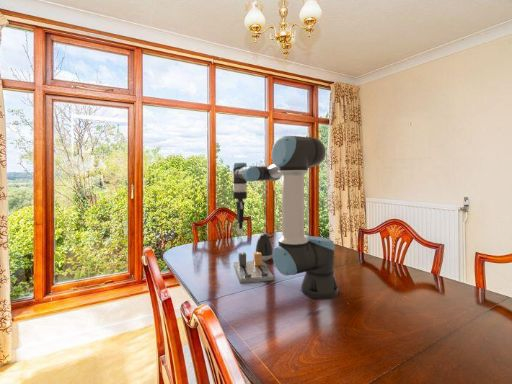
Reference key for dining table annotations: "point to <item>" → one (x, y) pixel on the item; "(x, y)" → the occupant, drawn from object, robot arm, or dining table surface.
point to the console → (253, 272)
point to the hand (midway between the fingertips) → (240, 234)
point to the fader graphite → (242, 259)
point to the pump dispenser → (264, 246)
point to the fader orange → (257, 258)
